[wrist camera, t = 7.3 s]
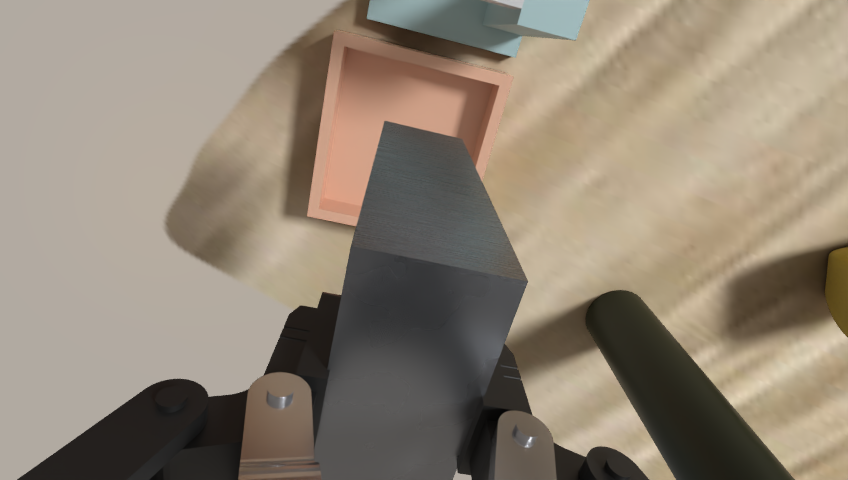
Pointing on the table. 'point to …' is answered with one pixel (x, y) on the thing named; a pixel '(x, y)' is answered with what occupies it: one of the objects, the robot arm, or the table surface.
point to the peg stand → (484, 20)
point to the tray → (395, 113)
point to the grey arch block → (416, 314)
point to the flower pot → (838, 287)
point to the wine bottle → (676, 396)
